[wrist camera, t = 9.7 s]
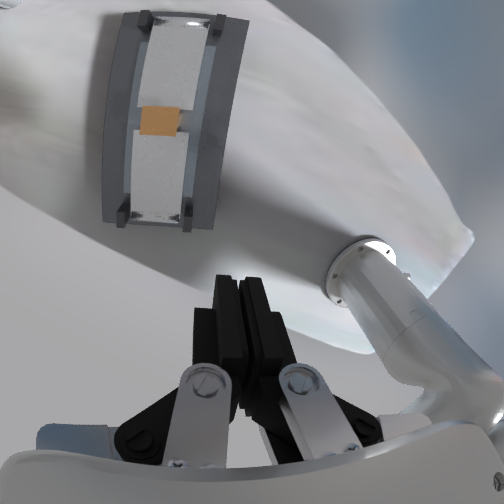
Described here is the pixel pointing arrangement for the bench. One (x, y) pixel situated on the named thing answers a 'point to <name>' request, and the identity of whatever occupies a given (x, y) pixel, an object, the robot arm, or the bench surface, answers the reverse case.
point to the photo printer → (9, 3)
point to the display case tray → (171, 118)
